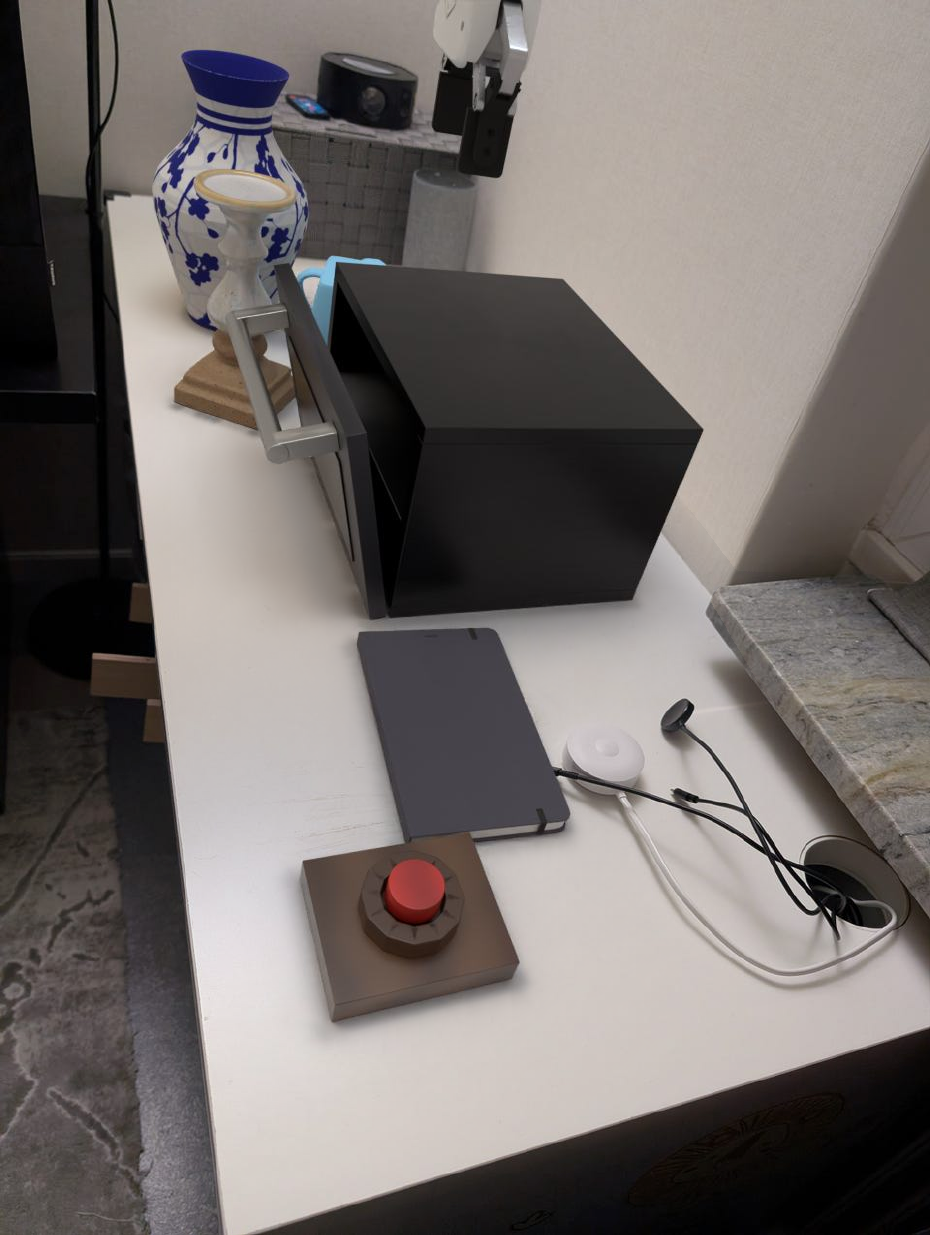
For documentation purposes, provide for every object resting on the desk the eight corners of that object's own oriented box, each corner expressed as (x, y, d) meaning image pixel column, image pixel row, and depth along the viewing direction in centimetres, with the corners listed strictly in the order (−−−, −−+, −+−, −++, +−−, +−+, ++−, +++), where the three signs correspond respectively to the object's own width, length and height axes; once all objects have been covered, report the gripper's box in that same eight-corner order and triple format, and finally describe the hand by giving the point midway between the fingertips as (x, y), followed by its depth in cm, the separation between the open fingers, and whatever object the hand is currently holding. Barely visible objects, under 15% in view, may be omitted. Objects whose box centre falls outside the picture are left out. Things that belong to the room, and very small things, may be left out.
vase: (176, 350, 112) (172, 80, 92) (140, 285, 123) (130, 33, 104) (320, 345, 121) (344, 97, 101) (274, 285, 132) (288, 52, 113)
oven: (389, 618, 82) (425, 427, 69) (317, 433, 104) (335, 261, 91) (632, 600, 92) (704, 429, 79) (520, 434, 113) (563, 278, 100)
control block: (331, 1021, 54) (338, 990, 52) (299, 878, 61) (304, 844, 58) (512, 978, 58) (527, 947, 56) (464, 849, 65) (475, 816, 63)
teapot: (338, 402, 110) (351, 296, 102) (273, 341, 119) (280, 238, 110) (454, 382, 121) (475, 284, 112) (387, 327, 129) (401, 233, 120)
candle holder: (217, 365, 111) (221, 159, 96) (299, 392, 110) (317, 188, 95) (171, 401, 103) (168, 182, 87) (260, 430, 102) (272, 214, 86)
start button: (392, 929, 55) (397, 914, 54) (378, 879, 58) (382, 863, 57) (447, 918, 57) (452, 903, 56) (430, 869, 59) (435, 854, 58)
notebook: (356, 643, 79) (406, 850, 64) (358, 630, 78) (410, 837, 63) (491, 639, 83) (568, 831, 68) (495, 626, 82) (574, 819, 67)
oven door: (305, 635, 80) (268, 451, 66) (250, 443, 102) (213, 274, 88) (386, 615, 82) (366, 432, 68) (315, 430, 104) (289, 262, 90)
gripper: (432, -169, 60) (396, 112, 71) (491, -151, 48) (436, 185, 59) (537, -142, 62) (486, 127, 73) (619, -118, 50) (543, 200, 61)
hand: (464, 152), depth 66 cm, fingers open, 9 cm apart
